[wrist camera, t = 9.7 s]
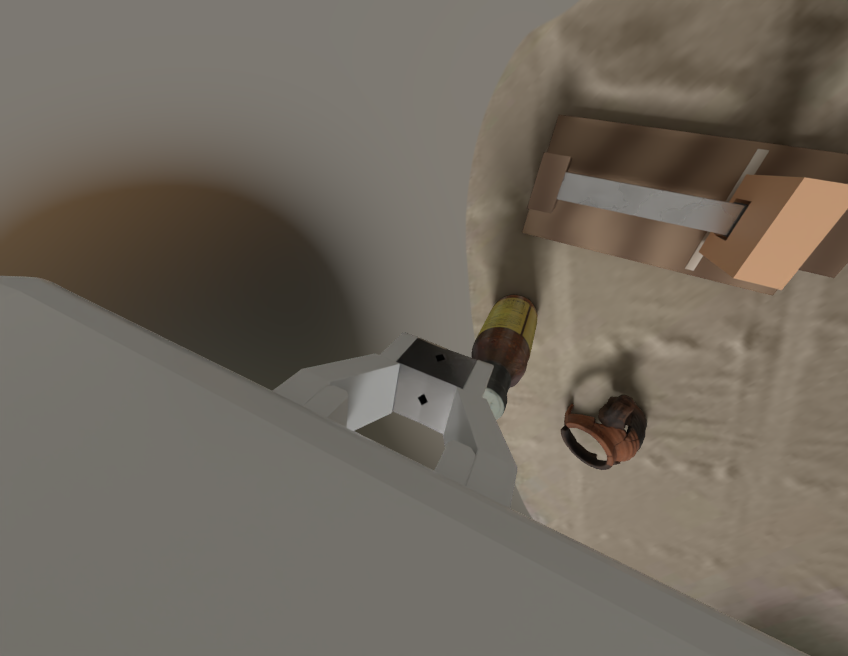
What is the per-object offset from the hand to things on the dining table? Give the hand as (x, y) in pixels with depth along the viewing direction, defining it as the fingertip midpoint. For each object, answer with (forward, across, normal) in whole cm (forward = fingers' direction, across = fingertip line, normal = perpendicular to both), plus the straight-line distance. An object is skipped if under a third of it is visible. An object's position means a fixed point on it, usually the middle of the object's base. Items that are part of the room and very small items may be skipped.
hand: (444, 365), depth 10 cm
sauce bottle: (+34, -1, +13) cm, 36 cm away
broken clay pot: (+34, -18, +23) cm, 44 cm away
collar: (+31, -17, -4) cm, 36 cm away
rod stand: (+33, -11, -4) cm, 35 cm away
